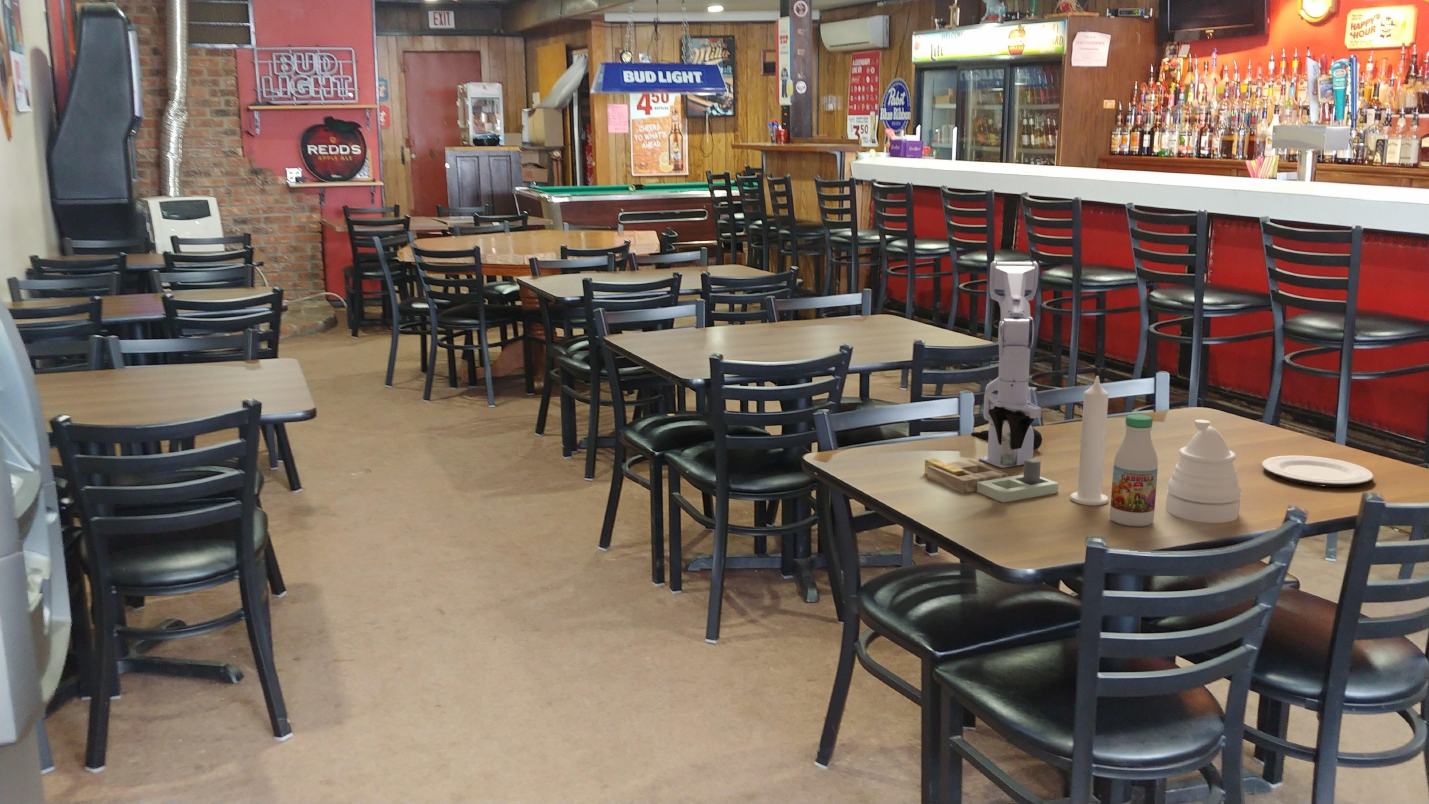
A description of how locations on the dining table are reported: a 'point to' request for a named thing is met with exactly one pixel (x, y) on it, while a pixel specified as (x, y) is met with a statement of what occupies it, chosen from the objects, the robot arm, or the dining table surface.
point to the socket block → (965, 475)
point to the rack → (1019, 484)
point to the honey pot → (1205, 479)
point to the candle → (1092, 447)
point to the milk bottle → (1135, 475)
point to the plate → (1317, 470)
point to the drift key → (943, 467)
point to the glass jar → (1007, 447)
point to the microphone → (1036, 437)
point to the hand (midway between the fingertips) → (1009, 446)
